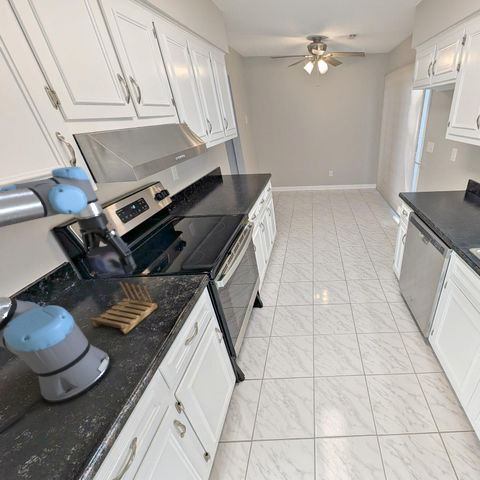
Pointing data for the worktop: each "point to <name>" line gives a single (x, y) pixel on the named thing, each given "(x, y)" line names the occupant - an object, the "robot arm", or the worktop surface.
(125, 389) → the worktop surface
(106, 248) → the small box
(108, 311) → the dish rack
